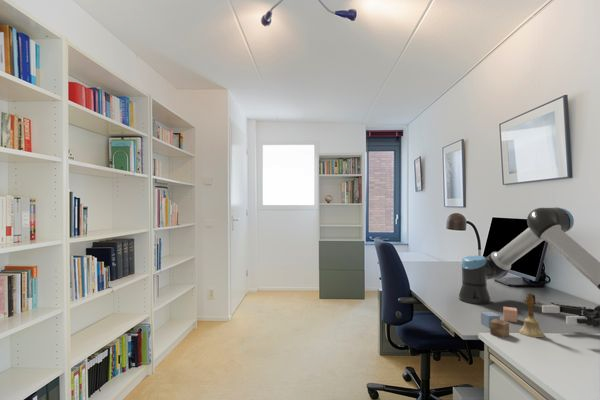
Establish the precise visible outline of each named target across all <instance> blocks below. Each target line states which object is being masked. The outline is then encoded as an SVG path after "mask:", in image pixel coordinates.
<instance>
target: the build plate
mask: <svg viewBox="0 0 600 400" xmlns="http://www.w3.org/2000/svg"><path fill="white" fill-rule="evenodd" d="M528 293H529V292H527V293H526V294H525V297H526V298H525V299H524V298H522V299H523V300H524V301H523V300H522V301H523V302H524V303H526V304H527V296H528ZM532 295H533V298H534V305H540V304H539V303H538V302H537V301H536V295H535V294H533V293H532Z"/></svg>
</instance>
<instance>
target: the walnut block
mask: <svg viewBox="0 0 600 400" xmlns="http://www.w3.org/2000/svg"><path fill="white" fill-rule="evenodd" d="M489 329H490V331H489V332H490V335H492V336H495V337H500V338H503V337H504V338H503V339H505V338H506V336H507V337H508V336H510V321H504V320H502V319H500V320H498V319H494V320H492V321H490V328H489Z"/></svg>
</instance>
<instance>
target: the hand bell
mask: <svg viewBox="0 0 600 400" xmlns="http://www.w3.org/2000/svg"><path fill="white" fill-rule="evenodd" d="M527 293H528V296H527V303H526V306H527V308H528V317H526V318H525V319H524V321H523V325H522V327H521V328H520V329H519V331H518V332H519V333H520V334H521V335H523V336H525V335H526V336H527V337H529V336H530V337H529V338H534V337H542V338H544V337H545V333H543V331H542V330H541V328H540V325H539V321H538V320H537V319H535V317H534V307H535V304H534V298H533V295H532V294H533V293H532V292H527Z"/></svg>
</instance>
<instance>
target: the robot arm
mask: <svg viewBox="0 0 600 400" xmlns="http://www.w3.org/2000/svg"><path fill="white" fill-rule="evenodd" d="M574 221H575V220H574V216H573V214H572V213H571V211H569V210H567V209H565V208H561V207H558V206H557V207H556V206H555V207H537V208H535V209H533V210H532V211H530V212H529V214H527V217H526V222H527V226H528V227H527V228H526V229H525V230H523V232H521V233H520V234H518V235H517V236H516V237H515V238H513V239H512V240H511V241H510V242H509V243H507V244H506V245H505V246H504V247H502V248H501V249H500V250H499V251H492V252H491V253H490V254H489V255H488V256H483V255H469V256H464V257H463V258H462V261H461V280H462V282H461V283H462V284H461V287H460V291H459V294H458V300H459V301H462V302H463V303H464V302H465V303H468V304H475V305H476V304H477V305H487V304H490V303H491V300H492V299H491V296H490V292H489V290H488V288H487V285H488V284H487V281H488V280H495V279H496V280H497V279H502V278H504V277H506V276H507V275H508V274H509V272H510V270H511V268H512V265H513V264H514V263H515V262H516V261H517V260H519V259H521V258H522V257H523V256H525V255H526V254H528V253H529V252H530V251H531V250H533V249H534V248H536V247H537V246H539V245H540V244H541V243H542V242H543V241H545V242H546V243H548V245H550V246H551V247H552V248H553V249H554V250H555V251H556V252H557V253H559V254H560V255H561V256H562V257H563V258H564V259H566V261H567V262H569V263H570V265H572V266H573V267H575V269H576V270H577V271H578V272H580V273H581V275H583V276H584V277H585V278H586V279H588V280H589V282H591V283H592V284H593V285H594V286H595V287H596V288H597V289H598V290H600V261H599V260H598V259H597V258H595V257H594V256H593V254H591V253H589V252H588V250H586V249H585V248H584V247H583V246H582V245H580V244H579V243H578V242H576V241H575V240H574V239H573V238H572V237H571V236H569V235H568V234H567V233H566V232H569V231H570V230H571V229H572V228H573V226H574ZM541 312H542V313H543V314H545V313H546V314H558V315H560V313H563V314H569V315H566V316H565V324H566V325H584V326H585V325H587V326H593V327H594V328H599V327H600V305H599V304H598V305H596V306H595V308H587V307H585V306H575V305H568V304H567V305H566V304H559V303H556V304H555V305H541ZM571 315H573V316H571Z"/></svg>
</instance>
